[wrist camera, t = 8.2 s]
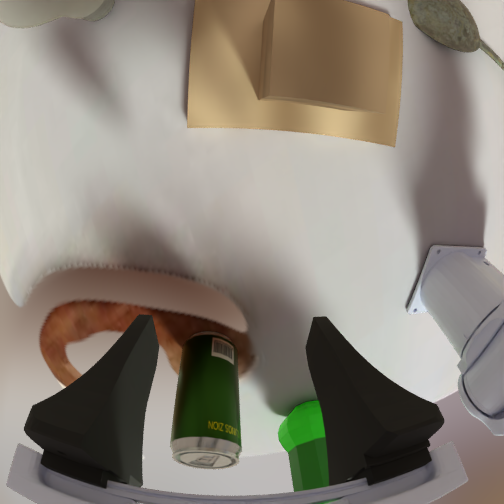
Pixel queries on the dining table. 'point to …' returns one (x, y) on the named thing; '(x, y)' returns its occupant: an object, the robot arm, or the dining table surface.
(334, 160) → the dining table surface
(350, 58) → the tan cube
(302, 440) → the plastic bottle
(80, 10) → the lightbulb
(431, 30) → the soupspoon
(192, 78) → the oak board
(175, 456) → the beer can
